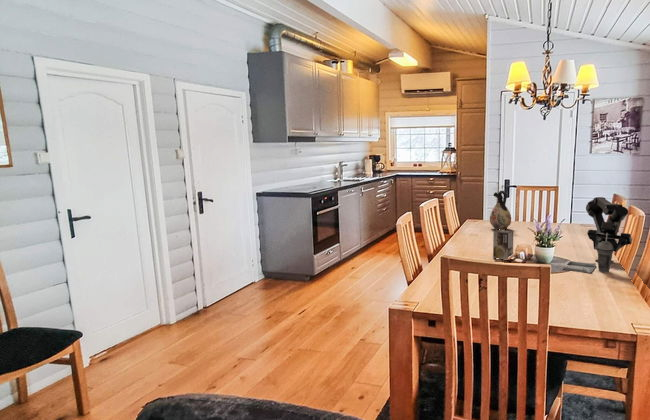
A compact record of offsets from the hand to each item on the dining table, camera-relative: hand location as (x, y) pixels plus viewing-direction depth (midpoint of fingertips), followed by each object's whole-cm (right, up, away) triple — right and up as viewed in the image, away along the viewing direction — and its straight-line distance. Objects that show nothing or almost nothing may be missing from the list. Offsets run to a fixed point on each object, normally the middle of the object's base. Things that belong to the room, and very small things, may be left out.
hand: (604, 250), depth 223 cm
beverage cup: (+1, -11, +3) cm, 11 cm away
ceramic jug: (-6, +5, +116) cm, 116 cm away
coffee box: (-38, -8, +32) cm, 50 cm away
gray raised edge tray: (-7, -10, +9) cm, 16 cm away
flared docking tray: (-7, -10, +9) cm, 16 cm away
